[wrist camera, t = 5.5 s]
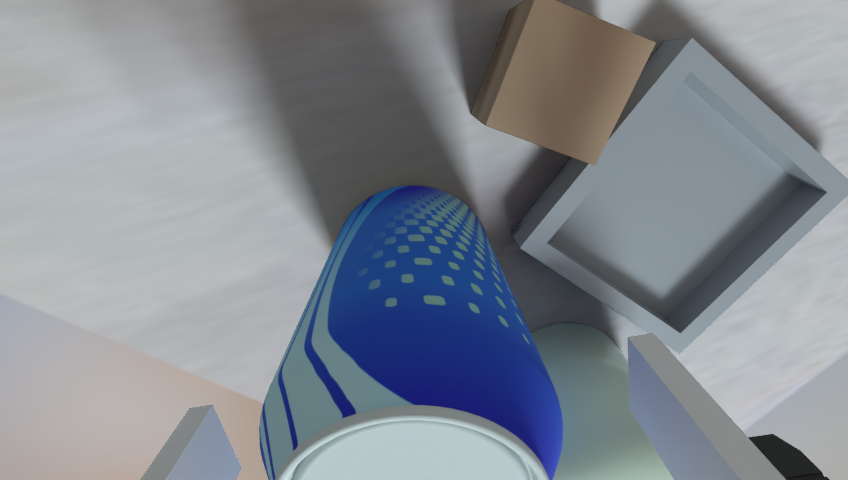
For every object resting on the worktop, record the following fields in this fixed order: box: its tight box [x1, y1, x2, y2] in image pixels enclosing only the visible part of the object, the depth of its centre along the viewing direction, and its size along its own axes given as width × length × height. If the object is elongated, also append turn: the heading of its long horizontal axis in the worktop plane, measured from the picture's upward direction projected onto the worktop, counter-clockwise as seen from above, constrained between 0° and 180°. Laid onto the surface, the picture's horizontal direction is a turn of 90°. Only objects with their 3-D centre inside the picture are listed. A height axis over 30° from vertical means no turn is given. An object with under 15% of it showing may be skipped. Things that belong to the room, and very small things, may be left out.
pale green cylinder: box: [531, 323, 674, 480], centre depth 24 cm, size 8×8×9 cm
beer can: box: [259, 185, 563, 480], centre depth 17 cm, size 8×8×16 cm
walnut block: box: [471, 0, 656, 165], centre depth 19 cm, size 5×5×5 cm
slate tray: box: [511, 38, 848, 354], centre depth 23 cm, size 12×12×2 cm
